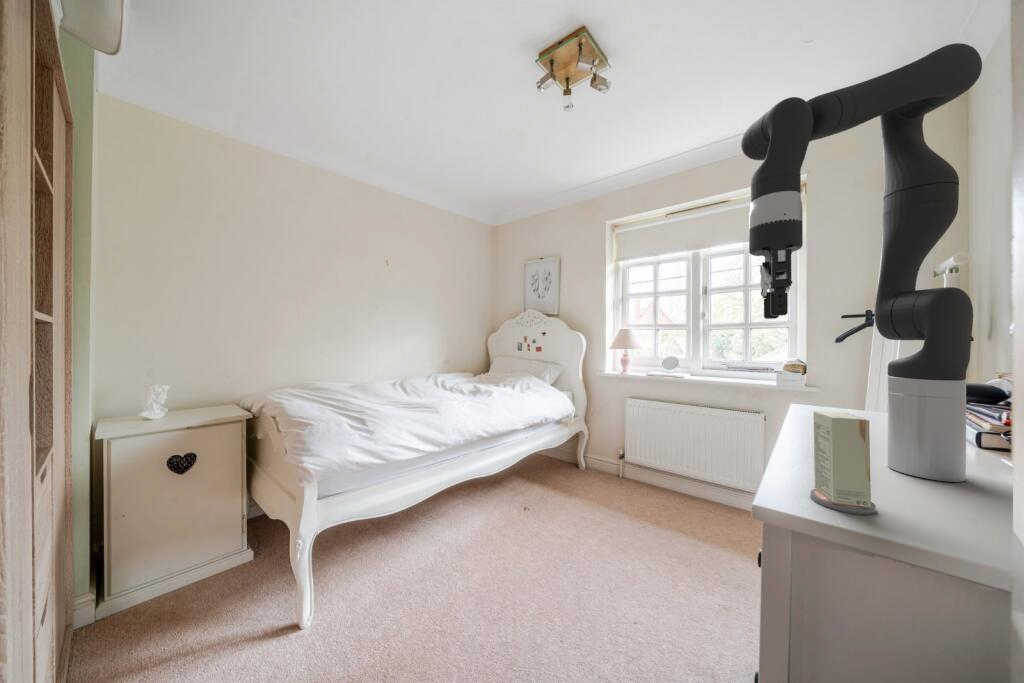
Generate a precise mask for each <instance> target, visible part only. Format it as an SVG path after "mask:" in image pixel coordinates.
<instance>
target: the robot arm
mask: <svg viewBox="0 0 1024 683" xmlns="http://www.w3.org/2000/svg"><path fill="white" fill-rule="evenodd" d="M982 60H983V59H982V58H981V55H980V53H979V52H978V51H977V49H976V48H974V46H971V45H969V44H968V43H967V44H966V43H961V42H960V43H959V42H955V43H950V44H947V45H943V46H942V47H940V48H937V49H936V50H933V51H931V52H930V53H928V54H926V55H925V56H923V57H921V58H919V59H917V60H914V61H913V62H911V63H908V64H906V65H903V66H901V67H899V68H896V69H893V70H891V71H888V72H886V73H884V74H881V75H878V76H876V77H872V78H870V79H867V80H864V81H861V82H858V83H856V84H852V85H849V86H845V87H843V88H839V89H835V90H832V91H829V92H826V93H823V94H819V95H816V96H814V97H812V98H809V99H807V101H806V100H805V99H803V98H801V97H798V96H792V97H791V96H790V97H787V98H785V99H783V100H781V101H779V102H778V103H777V104H775V105H773V107H771V108H770V109H769V110H768V111H767V112H765V113H764V114H762V116H760V117H759V118H758V119H756V120H755V121H754V122H753V123H751V125H750V126H749V127H748V128H747V129H746V130H745V132H744V133H743V136H742V138H741V142H740V144H741V145H740V147H741V151H742V153H743V155H745V156H746V158H749V159H751V160H754V161H762V163H761V164H760V165H759V166H758V167H757V169H755V171H754V172H753V173H752V176H751V179H750V210H749V215H748V216H749V217H748V219H749V220H748V225H749V226H748V243H749V244H748V253H749V255H751V256H754V257H761V256H762V257H764V261H763V262H761V264H760V265H759V274H760V282H759V283H760V289H761V292H760V295H761V297H762V299H763V318H764V319H766V320H769V319H771V320H773V319H774V320H775V319H779V317H780V316H786V315H788V308H789V307H788V304H789V302H788V301H789V300H788V299H789V298H788V296H789V294H788V293H789V292H790V290H791V286H792V284H793V280H792V254H793V252H797V251H798V250H800V249H802V247H803V245H804V244H803V243H804V241H803V238H804V237H803V236H804V235H803V230H804V229H803V227H804V226H803V224H804V223H803V222H804V221H803V218H804V217H803V215H804V214H803V202H802V194H801V190H802V189H801V188H802V187H801V185H802V184H801V181H802V180H801V178H802V177H801V175H802V174H801V170H802V167H803V164H804V161H805V158H806V154H807V151H808V147H809V144H810V142H813V141H816V140H820V139H824V138H827V137H831V136H833V135H836V134H840V133H843V132H845V131H848V130H851V129H853V128H855V127H858V126H860V125H862V124H864V123H866V122H868V121H871V120H872V119H876V118H877V117H879V126H880V134H881V141H882V148H883V150H882V151H883V191H882V192H883V193H882V210H881V211H882V214H881V216H882V218H881V219H882V245H881V246H882V249H881V263H880V271H879V279H878V283H877V284H878V285H877V293H876V297H875V304H874V305H875V306H874V322H875V326H876V329H877V331H878V333H879V334H880V335H881V336H882V337H883V338H885V339H887V340H889V341H890V340H893V341H924V342H923V345H922V348H921V349H920V350H919V351H917V352H915V353H914V354H911V355H909V356H906V357H902V358H898V359H897V358H896V359H893V360H891V361H890V362H888V364H887V468H890V469H891V470H893V471H897V472H900V473H902V474H905V475H909V476H914V477H917V478H922V479H926V480H933V481H940V482H950V483H951V482H952V483H953V482H954V483H960V482H962V483H963V482H966V480H967V370H968V367H969V364H970V360H971V346H972V334H973V324H974V308H973V303H972V300H971V298H970V296H969V295H968V293H967V292H965V290H964V289H961V288H959V287H953V286H950V287H949V286H947V287H946V286H945V287H935V288H926V289H917V290H916V288H917V287H916V286H917V278H918V275H919V272H920V269H921V266H922V264H923V262H924V261H925V259H926V257H927V256H928V255H929V253H930V252H931V251H932V250H933V248H934V247H935V246H936V245H937V244H938V243H939V241H940V239H942V237H943V236H944V235H945V234H946V232H947V231H948V230H949V228H950V227H951V226H952V224H953V223H954V221H955V219H956V217H957V214H958V211H959V199H960V197H959V194H960V193H959V191H960V186H959V185H960V180H959V178H960V176H959V174H958V172H957V171H956V169H955V168H954V167H953V166H952V165H951V163H949V162H948V161H947V160H946V159H945V158H943V157H942V156H941V155H939V154H938V153H937V152H935V151H934V150H933V149H931V147H929V146H928V144H927V143H926V140H925V136H924V128H923V126H924V125H923V124H924V117H925V116H926V114H929V113H930V112H931V113H932V111H934V110H936V109H938V108H940V107H943V106H944V105H946V104H948V103H949V102H952V101H954V100H955V99H957V98H959V97H960V96H961V95H963V94H964V93H966V92H967V91H969V90H970V89H971V88H972V87H973V86H974V85H975V84H976V83H977V81H978V80H979V78H980V76H981V74H982V70H983V61H982Z"/></svg>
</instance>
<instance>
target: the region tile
mask: <svg viewBox="0 0 1024 683" xmlns="http://www.w3.org/2000/svg"><path fill="white" fill-rule="evenodd" d="M809 495H810V499H811V500H812V499H813V500H814V501H813V500H812V501H813V502H815V503H816V502H817V504H819V505H821V506H823V507H826V508H827V509H830V510H833V511H838V512H842V513H844V514H851V515H857V516H858V515H859V516H871V515H874V514H876V512H877V511H876V509H877V506H876V504H875V503H874V502H872V501H871V507H869V508H868V507H861V506H853V505H846V504H838V503H833V502H832V501H831V500H829V499H828V498H827V497H825V496H824V495H823V494H822V493H820V492H819V491H818V490H817V489H815V488H814V489H811V490H810V492H809Z"/></svg>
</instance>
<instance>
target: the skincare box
mask: <svg viewBox="0 0 1024 683" xmlns="http://www.w3.org/2000/svg"><path fill="white" fill-rule="evenodd" d="M870 437H871V436H870V419H867V418H864V417H861V416H857V415H854V414H850V413H848V412H841V411H840V412H837V411H824V410H822V411H821V410H814V411H813V462H814V465H813V467H814V469H813V470H814V474H813V475H814V477H813V478H814V489H817V490H818V491H819V492H820V493H822V494H823V495H824V496H825V497H827V498H828V499H829V500H831V501H832V502H833V503H838V504H846V505H853V506H861V507H868V508H869V507H871V502H872V493H871V491H872V490H871V488H872V487H871V486H872V485H871V451H870V450H871V444H870V442H871V441H870V439H871V438H870Z"/></svg>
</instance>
